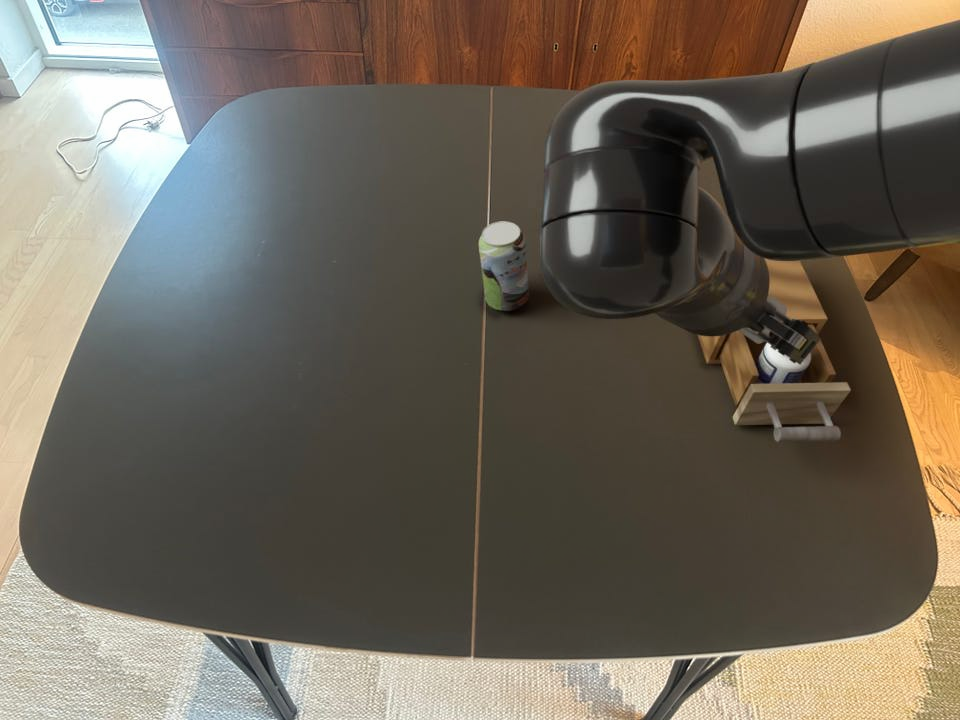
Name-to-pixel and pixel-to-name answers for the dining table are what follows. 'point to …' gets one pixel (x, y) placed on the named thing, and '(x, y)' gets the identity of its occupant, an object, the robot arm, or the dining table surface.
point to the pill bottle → (779, 367)
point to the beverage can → (504, 266)
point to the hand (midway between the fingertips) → (742, 308)
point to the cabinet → (788, 290)
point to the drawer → (782, 392)
